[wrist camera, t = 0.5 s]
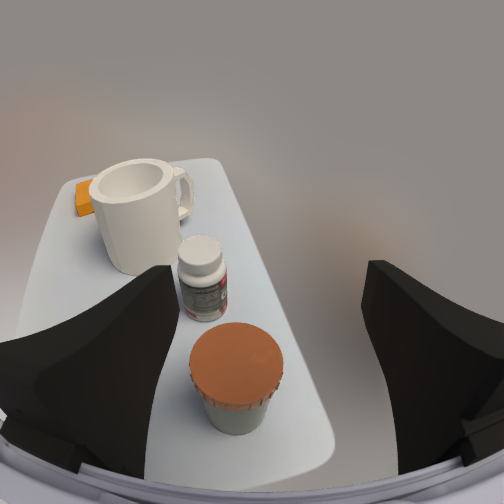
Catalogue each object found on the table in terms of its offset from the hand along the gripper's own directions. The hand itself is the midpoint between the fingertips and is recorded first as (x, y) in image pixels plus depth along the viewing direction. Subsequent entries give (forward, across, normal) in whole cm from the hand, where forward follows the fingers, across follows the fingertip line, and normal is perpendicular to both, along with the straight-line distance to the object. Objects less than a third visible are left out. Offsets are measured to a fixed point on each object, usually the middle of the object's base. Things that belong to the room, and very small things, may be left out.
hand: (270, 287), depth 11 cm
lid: (+3, +2, +8) cm, 9 cm away
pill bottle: (+17, +7, +14) cm, 23 cm away
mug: (+26, +16, +10) cm, 32 cm away
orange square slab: (+36, +29, +6) cm, 47 cm away
